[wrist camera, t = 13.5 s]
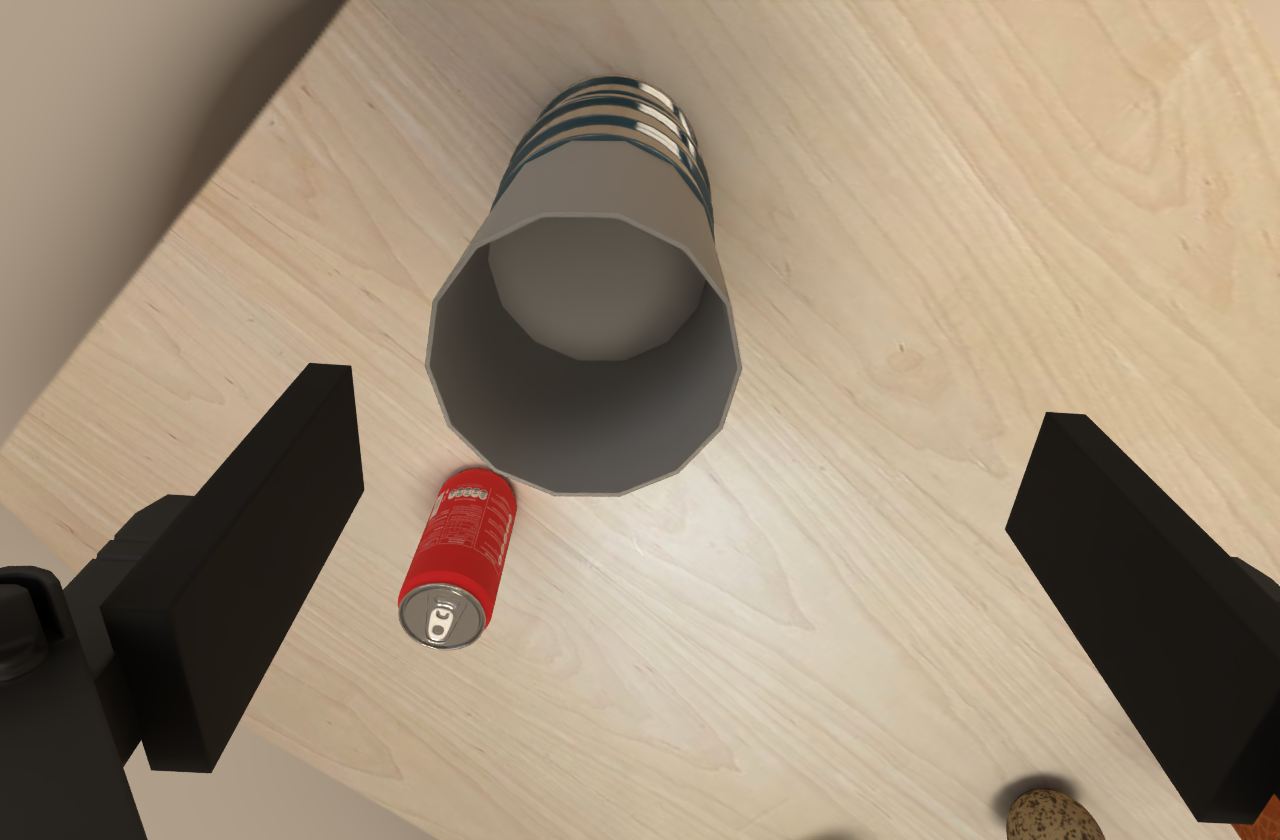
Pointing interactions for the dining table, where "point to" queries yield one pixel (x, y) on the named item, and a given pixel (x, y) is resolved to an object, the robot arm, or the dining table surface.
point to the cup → (587, 326)
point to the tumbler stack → (617, 129)
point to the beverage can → (459, 561)
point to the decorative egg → (1050, 818)
